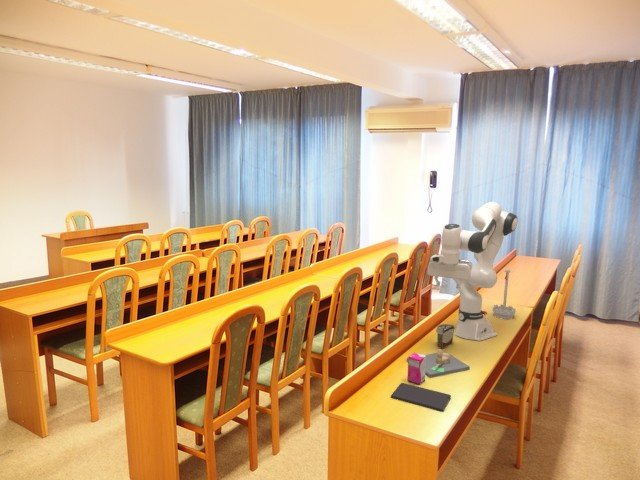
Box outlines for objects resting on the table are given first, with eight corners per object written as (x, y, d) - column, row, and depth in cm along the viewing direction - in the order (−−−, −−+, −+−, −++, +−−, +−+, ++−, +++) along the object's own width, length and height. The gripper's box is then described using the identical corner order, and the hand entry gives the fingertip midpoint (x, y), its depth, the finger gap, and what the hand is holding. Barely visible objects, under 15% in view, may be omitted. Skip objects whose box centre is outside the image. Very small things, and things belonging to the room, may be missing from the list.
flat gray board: (444, 354, 235) (445, 350, 235) (470, 370, 219) (470, 366, 218) (406, 361, 227) (406, 357, 226) (430, 378, 210) (430, 374, 210)
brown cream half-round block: (443, 339, 253) (444, 321, 251) (453, 343, 249) (455, 325, 247) (430, 346, 245) (431, 327, 243) (440, 349, 240) (442, 331, 238)
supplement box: (413, 376, 212) (414, 351, 210) (425, 380, 208) (426, 355, 206) (406, 380, 207) (407, 356, 205) (419, 385, 204) (420, 360, 202)
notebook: (390, 398, 193) (443, 413, 183) (390, 395, 193) (443, 409, 183) (401, 385, 204) (451, 398, 194) (401, 382, 204) (451, 395, 194)
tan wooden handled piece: (438, 357, 228) (439, 341, 226) (451, 360, 225) (452, 344, 223) (429, 369, 215) (430, 352, 214) (442, 372, 212) (444, 355, 211)
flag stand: (495, 311, 300) (499, 264, 294) (517, 315, 292) (522, 267, 287) (489, 316, 289) (493, 268, 284) (511, 321, 282) (516, 272, 276)
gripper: (473, 259, 225) (471, 288, 228) (430, 254, 234) (428, 282, 237) (471, 262, 220) (469, 291, 222) (427, 257, 229) (425, 285, 232)
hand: (448, 286), depth 230 cm, fingers open, 8 cm apart
